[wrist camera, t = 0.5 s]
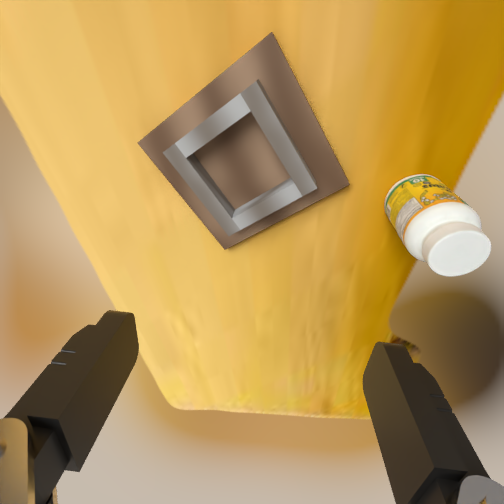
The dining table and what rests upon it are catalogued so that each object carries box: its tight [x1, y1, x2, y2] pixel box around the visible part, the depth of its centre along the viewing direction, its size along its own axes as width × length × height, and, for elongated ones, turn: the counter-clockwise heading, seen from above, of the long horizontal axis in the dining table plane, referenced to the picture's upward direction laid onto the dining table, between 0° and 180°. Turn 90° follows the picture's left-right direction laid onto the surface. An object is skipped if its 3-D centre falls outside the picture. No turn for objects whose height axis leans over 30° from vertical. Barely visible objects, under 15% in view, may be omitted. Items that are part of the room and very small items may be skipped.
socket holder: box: [138, 32, 350, 249], centre depth 27 cm, size 15×14×3 cm
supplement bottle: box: [384, 174, 491, 276], centre depth 25 cm, size 6×5×10 cm
